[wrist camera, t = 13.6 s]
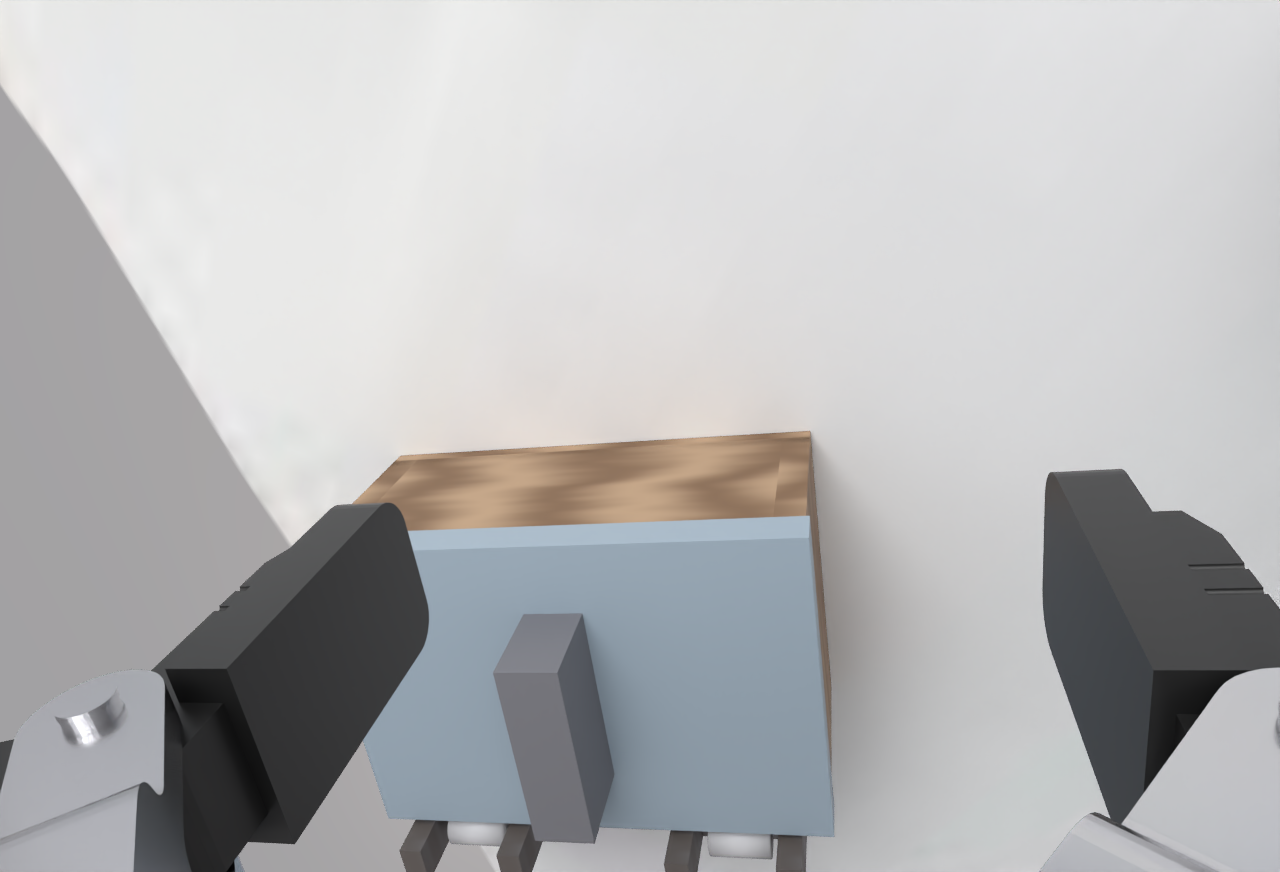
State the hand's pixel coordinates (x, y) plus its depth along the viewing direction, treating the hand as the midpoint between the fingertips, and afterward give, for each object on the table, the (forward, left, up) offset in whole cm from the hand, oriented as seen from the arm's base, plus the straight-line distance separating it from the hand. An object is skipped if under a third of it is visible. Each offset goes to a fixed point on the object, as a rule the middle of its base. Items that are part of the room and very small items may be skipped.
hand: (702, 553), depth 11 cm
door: (+10, +17, -20) cm, 28 cm away
